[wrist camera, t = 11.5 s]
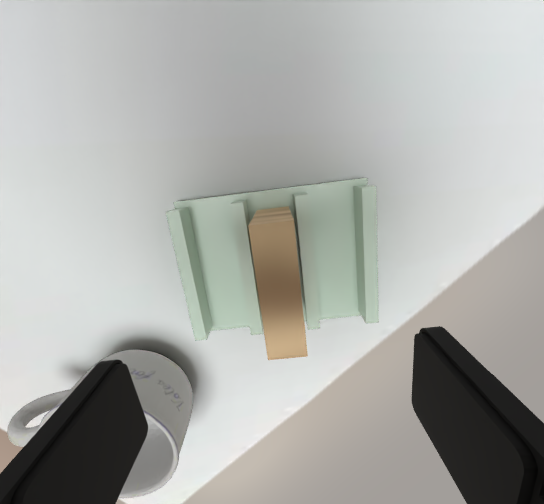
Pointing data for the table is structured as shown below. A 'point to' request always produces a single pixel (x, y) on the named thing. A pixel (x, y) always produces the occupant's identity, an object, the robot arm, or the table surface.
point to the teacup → (156, 406)
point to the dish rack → (310, 250)
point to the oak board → (278, 282)
